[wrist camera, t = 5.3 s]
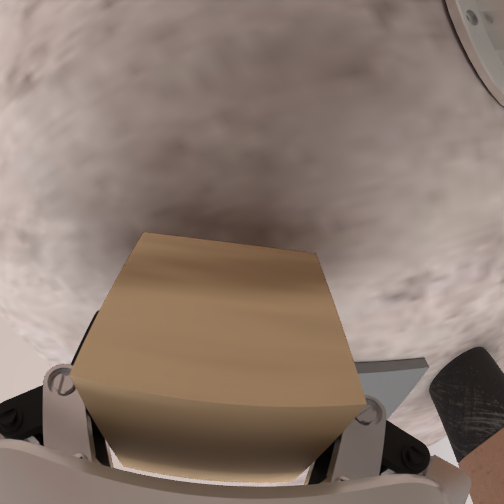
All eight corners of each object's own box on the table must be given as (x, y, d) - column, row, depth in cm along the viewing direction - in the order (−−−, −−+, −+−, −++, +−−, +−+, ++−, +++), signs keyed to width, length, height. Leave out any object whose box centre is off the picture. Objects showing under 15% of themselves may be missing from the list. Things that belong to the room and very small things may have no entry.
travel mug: (421, 406, 24) (475, 561, 7) (433, 365, 21) (513, 558, 3) (477, 378, 24) (541, 515, 6) (496, 333, 20) (585, 493, 2)
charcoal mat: (217, 359, 18) (216, 371, 17) (424, 358, 20) (429, 367, 19) (207, 453, 25) (206, 461, 25) (350, 448, 27) (352, 455, 26)
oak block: (143, 232, 10) (69, 374, 5) (315, 253, 10) (367, 403, 5) (151, 348, 13) (123, 466, 8) (279, 362, 13) (291, 481, 8)
